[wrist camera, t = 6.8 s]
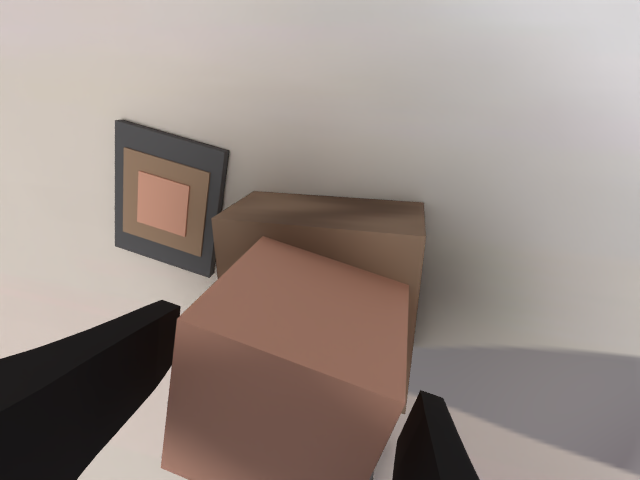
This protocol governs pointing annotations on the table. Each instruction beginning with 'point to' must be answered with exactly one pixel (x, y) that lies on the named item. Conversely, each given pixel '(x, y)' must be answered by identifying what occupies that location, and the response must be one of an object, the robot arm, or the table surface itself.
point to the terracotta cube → (287, 370)
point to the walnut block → (332, 236)
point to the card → (167, 196)
